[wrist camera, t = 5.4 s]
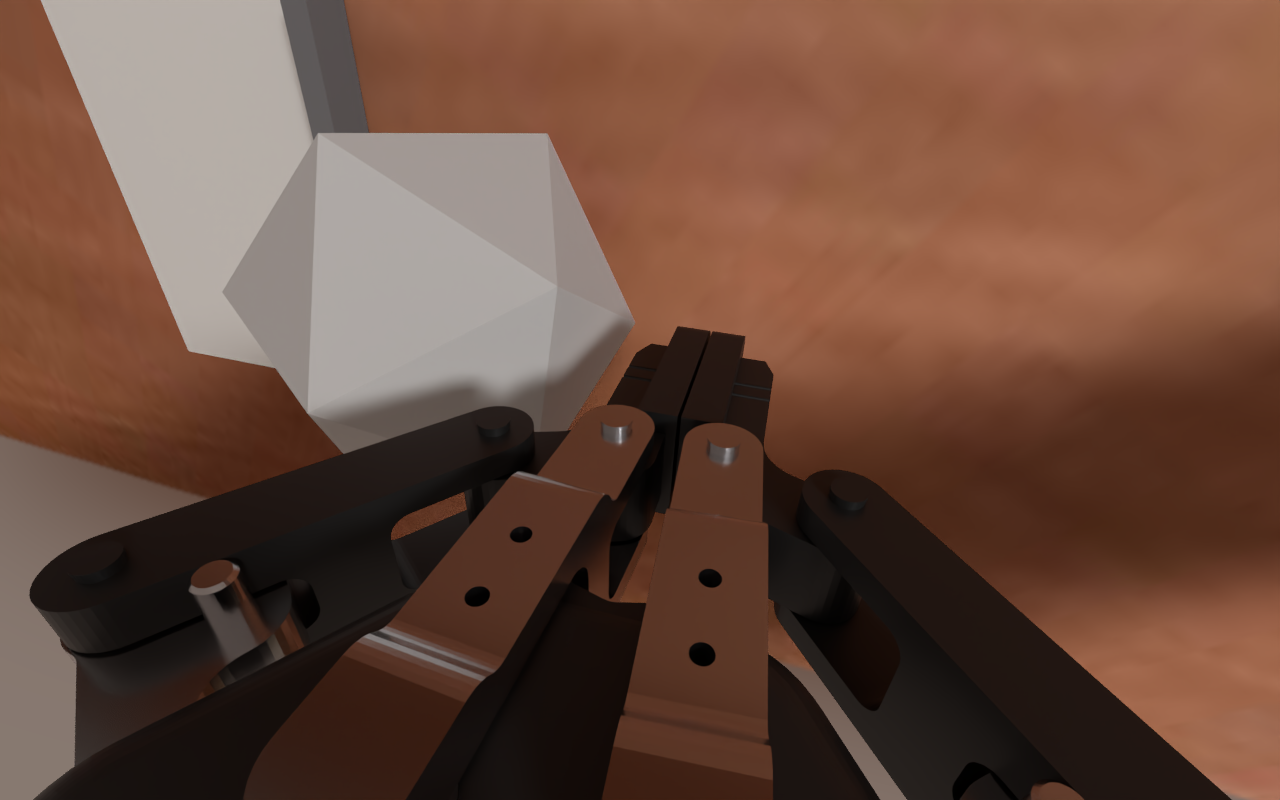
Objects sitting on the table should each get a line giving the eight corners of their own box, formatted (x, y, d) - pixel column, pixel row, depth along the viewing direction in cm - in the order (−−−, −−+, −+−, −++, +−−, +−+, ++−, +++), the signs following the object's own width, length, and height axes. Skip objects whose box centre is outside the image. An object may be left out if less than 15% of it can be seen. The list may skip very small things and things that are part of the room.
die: (356, 173, 20) (17, 283, 11) (585, 42, 16) (323, 65, 8) (487, 389, 23) (298, 593, 15) (701, 323, 19) (607, 548, 11)
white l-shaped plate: (343, -1, 17) (305, -2, 15) (418, 391, 24) (395, 411, 23) (44, -16, 19) (-10, -19, 18) (194, 348, 26) (163, 364, 25)
